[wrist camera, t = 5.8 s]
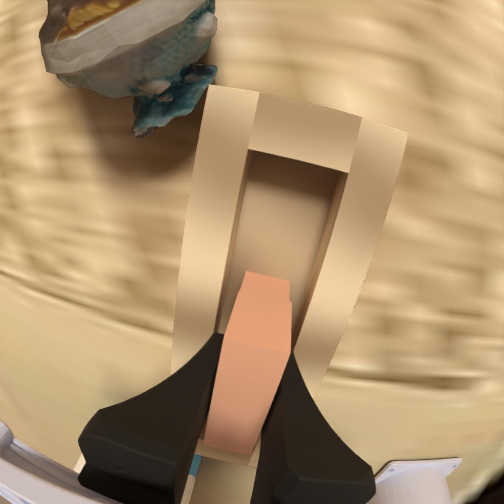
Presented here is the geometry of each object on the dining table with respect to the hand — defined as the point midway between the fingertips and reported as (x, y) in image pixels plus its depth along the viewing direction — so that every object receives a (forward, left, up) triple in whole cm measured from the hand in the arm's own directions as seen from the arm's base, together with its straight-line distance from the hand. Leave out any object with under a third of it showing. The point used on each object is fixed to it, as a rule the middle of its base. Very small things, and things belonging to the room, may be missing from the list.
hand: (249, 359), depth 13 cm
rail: (0, 0, -3) cm, 3 cm away
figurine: (+15, +8, -4) cm, 17 cm away
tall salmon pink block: (0, 0, -3) cm, 3 cm away
